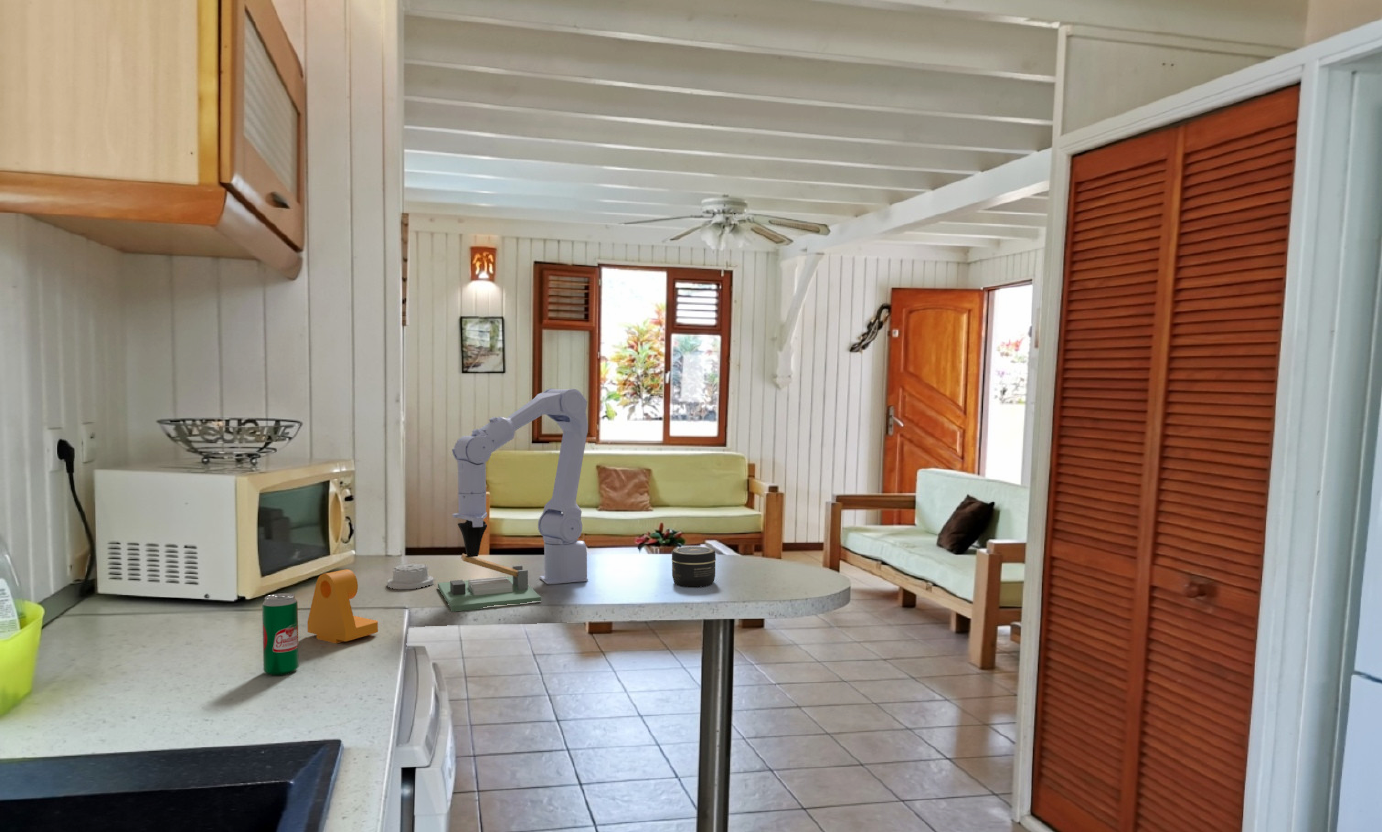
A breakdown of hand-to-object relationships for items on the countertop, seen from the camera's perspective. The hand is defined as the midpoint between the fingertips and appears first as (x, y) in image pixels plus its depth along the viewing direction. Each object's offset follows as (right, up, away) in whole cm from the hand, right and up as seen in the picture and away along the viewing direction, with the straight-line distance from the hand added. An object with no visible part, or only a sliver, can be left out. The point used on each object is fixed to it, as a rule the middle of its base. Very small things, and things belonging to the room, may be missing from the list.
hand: (472, 556), depth 189 cm
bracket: (-16, -10, -29) cm, 34 cm away
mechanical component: (-17, -9, +12) cm, 23 cm away
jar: (+47, -8, +13) cm, 49 cm away
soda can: (-18, -11, -49) cm, 53 cm away
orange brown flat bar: (+4, -3, +2) cm, 5 cm away
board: (+3, -9, +2) cm, 9 cm away
